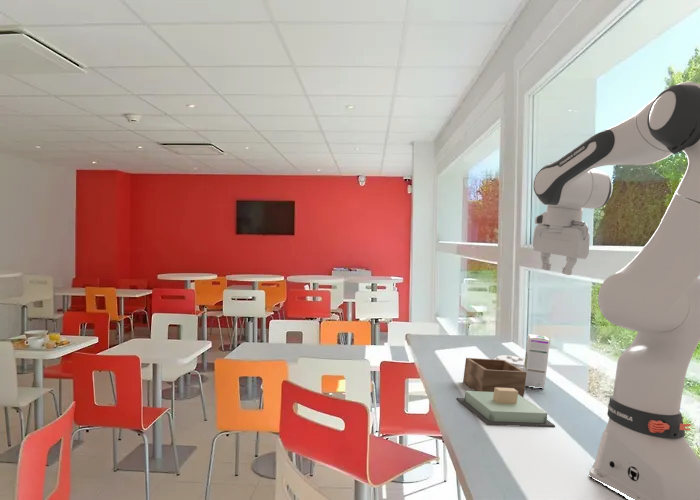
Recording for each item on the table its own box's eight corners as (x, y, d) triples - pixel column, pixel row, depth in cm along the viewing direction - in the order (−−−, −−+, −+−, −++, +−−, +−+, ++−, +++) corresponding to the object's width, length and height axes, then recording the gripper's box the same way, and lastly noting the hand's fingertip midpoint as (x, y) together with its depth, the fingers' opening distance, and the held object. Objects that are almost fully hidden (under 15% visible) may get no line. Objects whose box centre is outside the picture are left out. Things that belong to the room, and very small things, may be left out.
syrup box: (544, 390, 159) (551, 340, 158) (523, 386, 160) (529, 336, 159) (541, 384, 165) (548, 336, 164) (521, 381, 166) (527, 333, 165)
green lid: (546, 422, 129) (549, 400, 129) (490, 421, 126) (493, 398, 126) (515, 401, 143) (517, 381, 143) (464, 399, 140) (466, 379, 140)
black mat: (554, 426, 128) (555, 425, 128) (487, 424, 124) (487, 423, 124) (517, 401, 145) (517, 400, 145) (456, 399, 141) (456, 397, 141)
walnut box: (523, 398, 149) (526, 372, 148) (482, 396, 146) (485, 370, 145) (501, 383, 160) (504, 360, 160) (462, 382, 157) (466, 357, 157)
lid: (506, 378, 168) (508, 362, 167) (485, 366, 180) (487, 351, 179) (542, 380, 171) (544, 364, 171) (519, 368, 183) (521, 353, 183)
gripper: (599, 223, 137) (591, 278, 138) (552, 219, 157) (545, 268, 158) (577, 220, 136) (569, 276, 137) (532, 217, 155) (525, 266, 156)
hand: (555, 272), depth 147 cm, fingers open, 8 cm apart
